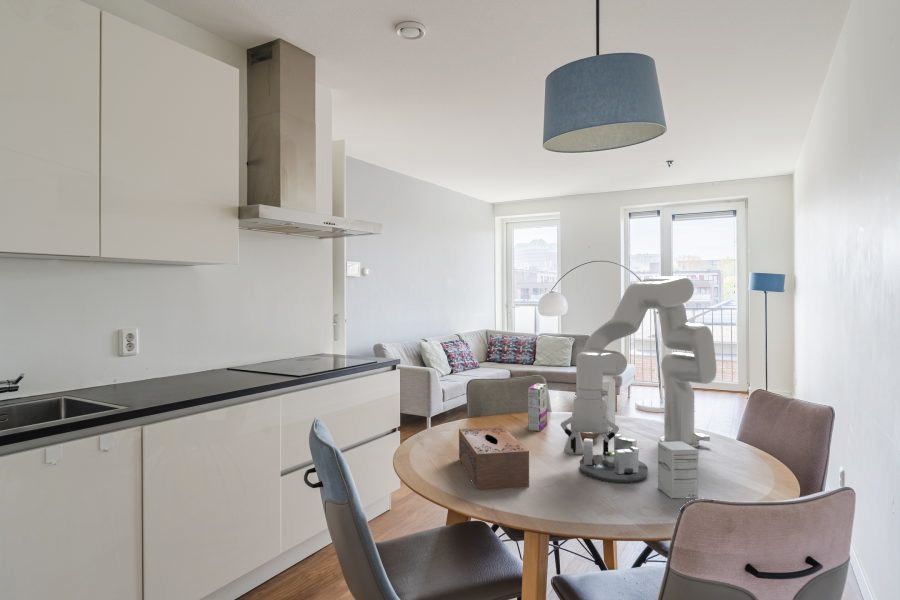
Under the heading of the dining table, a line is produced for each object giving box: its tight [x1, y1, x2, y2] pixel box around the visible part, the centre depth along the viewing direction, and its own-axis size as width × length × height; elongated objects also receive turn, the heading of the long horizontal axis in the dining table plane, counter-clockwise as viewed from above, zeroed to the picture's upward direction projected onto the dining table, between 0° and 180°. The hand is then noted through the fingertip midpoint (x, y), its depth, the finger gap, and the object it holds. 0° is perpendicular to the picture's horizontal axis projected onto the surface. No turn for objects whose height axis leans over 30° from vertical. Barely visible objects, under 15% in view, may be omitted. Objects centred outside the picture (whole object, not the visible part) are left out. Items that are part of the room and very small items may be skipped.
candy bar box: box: [527, 383, 548, 432], centre depth 198 cm, size 11×5×16 cm, turn 155°
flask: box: [563, 422, 584, 455], centre depth 168 cm, size 7×7×10 cm
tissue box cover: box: [458, 426, 530, 491], centre depth 149 cm, size 26×14×10 cm, turn 10°
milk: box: [603, 375, 616, 433], centre depth 195 cm, size 6×6×22 cm
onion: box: [580, 432, 600, 442], centre depth 181 cm, size 10×9×10 cm
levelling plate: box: [579, 450, 649, 485], centre depth 149 cm, size 19×19×6 cm
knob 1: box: [613, 433, 637, 451], centre depth 154 cm, size 4×6×7 cm, turn 42°
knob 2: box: [613, 446, 640, 474], centre depth 142 cm, size 4×6×7 cm, turn 102°
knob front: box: [581, 438, 595, 465], centre depth 151 cm, size 4×6×7 cm, turn 162°
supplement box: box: [657, 441, 699, 499], centre depth 132 cm, size 7×7×13 cm
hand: (589, 452), depth 151 cm, fingers open, 8 cm apart
